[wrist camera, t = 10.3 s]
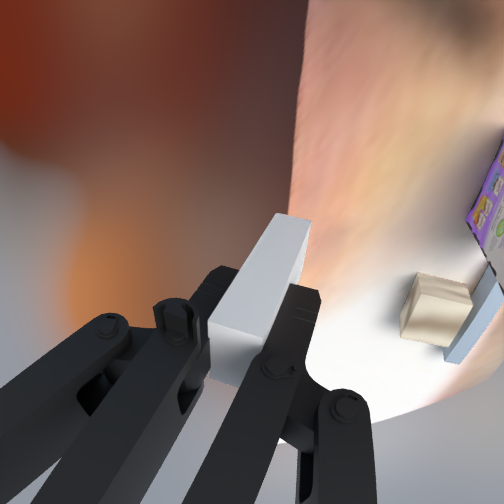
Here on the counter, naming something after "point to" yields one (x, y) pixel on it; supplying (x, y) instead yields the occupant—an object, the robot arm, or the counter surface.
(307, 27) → the counter surface
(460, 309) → the block
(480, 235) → the candy box
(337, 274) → the counter surface
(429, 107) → the counter surface
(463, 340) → the blue-grey bar
